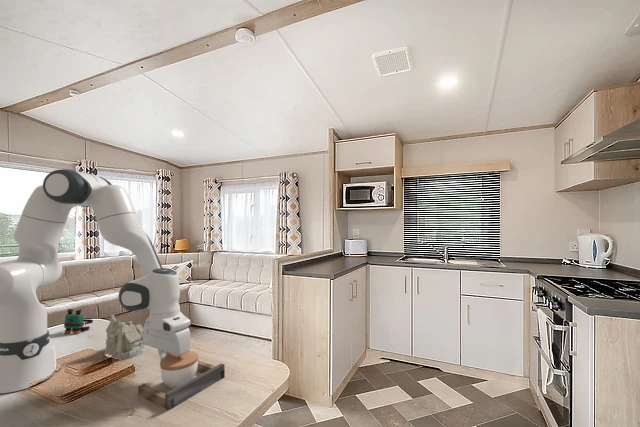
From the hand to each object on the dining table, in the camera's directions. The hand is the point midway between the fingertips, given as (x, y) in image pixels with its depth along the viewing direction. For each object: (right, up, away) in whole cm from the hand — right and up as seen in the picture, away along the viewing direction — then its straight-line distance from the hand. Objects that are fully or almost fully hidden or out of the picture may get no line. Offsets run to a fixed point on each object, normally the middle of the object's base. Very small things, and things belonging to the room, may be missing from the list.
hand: (165, 362), depth 97 cm
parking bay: (+7, -5, -5) cm, 10 cm away
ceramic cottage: (-25, -6, +21) cm, 34 cm away
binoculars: (-63, -7, +44) cm, 77 cm away
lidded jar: (+6, -5, -4) cm, 9 cm away
